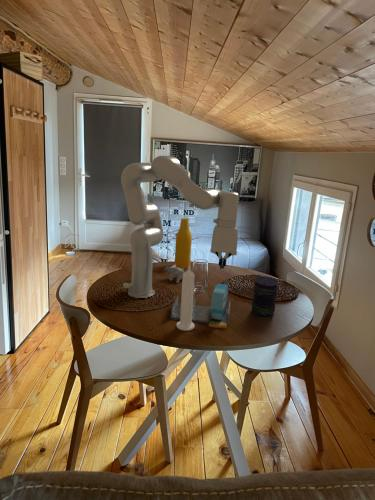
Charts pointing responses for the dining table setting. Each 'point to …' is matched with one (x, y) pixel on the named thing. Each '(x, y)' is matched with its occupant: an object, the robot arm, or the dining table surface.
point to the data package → (219, 301)
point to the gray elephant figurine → (175, 272)
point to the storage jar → (264, 297)
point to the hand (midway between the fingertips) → (222, 267)
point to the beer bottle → (183, 245)
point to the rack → (201, 314)
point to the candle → (187, 301)
